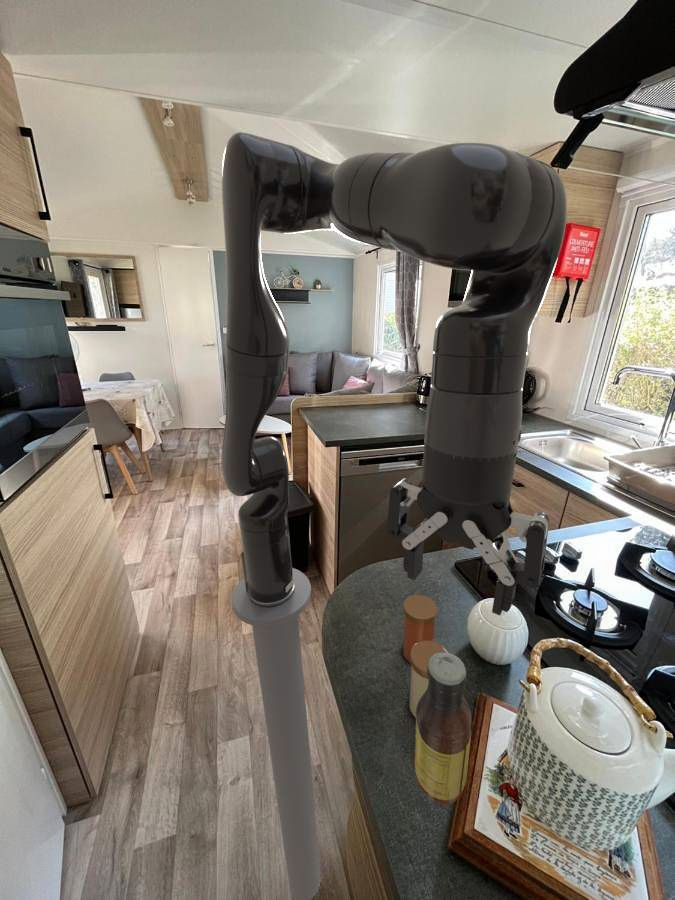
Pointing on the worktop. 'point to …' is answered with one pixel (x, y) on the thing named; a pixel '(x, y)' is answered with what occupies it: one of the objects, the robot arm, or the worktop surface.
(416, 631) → the terracotta jar
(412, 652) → the cream jar
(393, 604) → the worktop surface
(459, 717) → the sauce bottle
